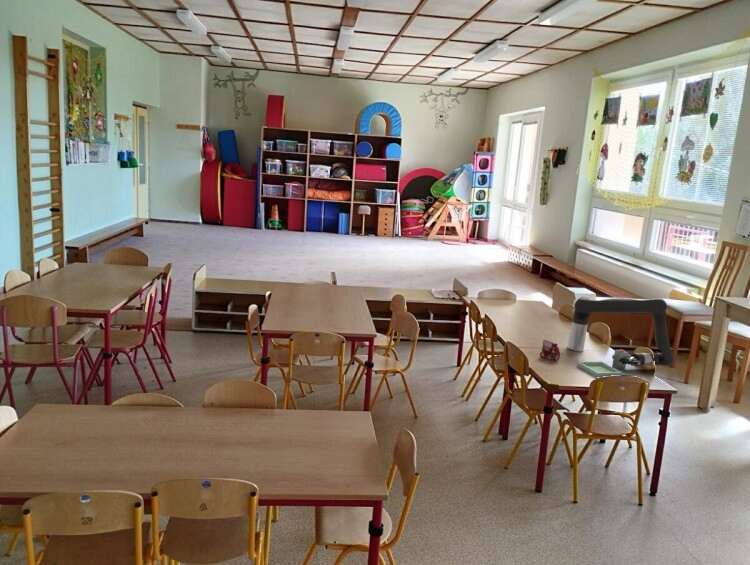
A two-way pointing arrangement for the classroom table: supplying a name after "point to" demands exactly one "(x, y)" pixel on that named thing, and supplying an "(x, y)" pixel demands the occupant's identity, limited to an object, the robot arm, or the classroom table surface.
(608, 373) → the green tray
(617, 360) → the block
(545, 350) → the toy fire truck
